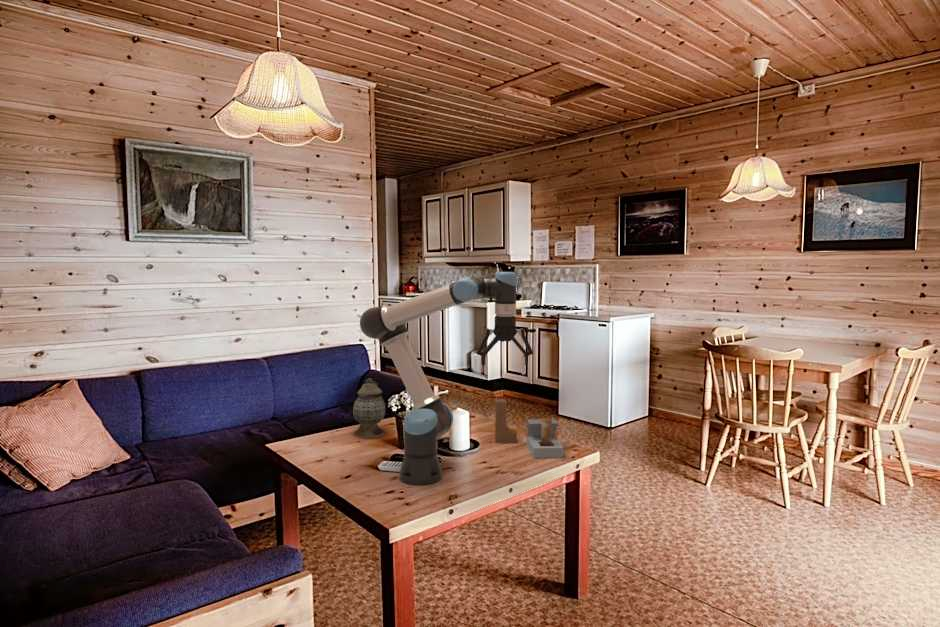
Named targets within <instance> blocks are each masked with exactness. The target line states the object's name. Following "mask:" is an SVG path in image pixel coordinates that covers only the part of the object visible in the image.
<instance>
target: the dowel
mask: <svg viewBox="0 0 940 627" xmlns="http://www.w3.org/2000/svg"><path fill="white" fill-rule="evenodd" d="M541 419H542V427H541V446H551V432H552V419H553V418H549V417H547V418H545V417H544V418H541Z"/></svg>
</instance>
